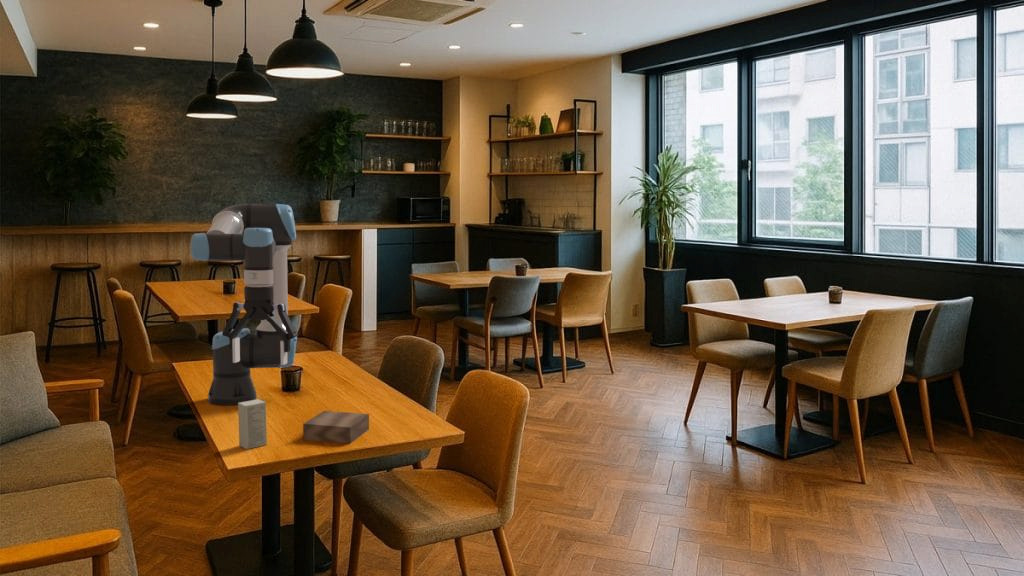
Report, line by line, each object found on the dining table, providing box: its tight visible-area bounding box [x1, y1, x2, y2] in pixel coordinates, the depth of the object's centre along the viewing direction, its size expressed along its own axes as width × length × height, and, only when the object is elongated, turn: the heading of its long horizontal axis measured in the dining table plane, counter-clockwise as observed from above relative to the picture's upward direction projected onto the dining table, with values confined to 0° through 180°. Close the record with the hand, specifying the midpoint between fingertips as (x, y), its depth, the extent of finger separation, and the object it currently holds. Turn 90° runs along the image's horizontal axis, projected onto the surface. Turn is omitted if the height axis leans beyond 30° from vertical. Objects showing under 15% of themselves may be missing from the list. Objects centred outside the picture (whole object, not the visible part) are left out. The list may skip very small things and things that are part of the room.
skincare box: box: [237, 398, 268, 450], centre depth 218 cm, size 6×4×12 cm
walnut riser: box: [302, 410, 370, 445], centre depth 230 cm, size 14×14×5 cm
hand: (260, 363), depth 219 cm, fingers open, 13 cm apart
